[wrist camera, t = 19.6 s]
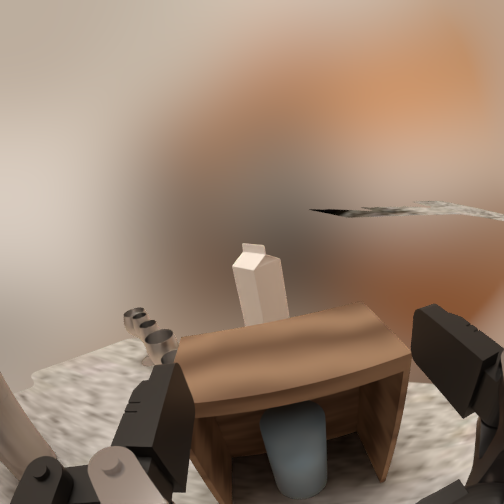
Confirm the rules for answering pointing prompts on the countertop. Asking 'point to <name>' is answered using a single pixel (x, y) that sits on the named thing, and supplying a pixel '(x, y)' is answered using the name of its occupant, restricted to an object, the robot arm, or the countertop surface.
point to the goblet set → (151, 337)
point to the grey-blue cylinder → (296, 447)
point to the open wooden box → (294, 385)
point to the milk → (260, 286)
